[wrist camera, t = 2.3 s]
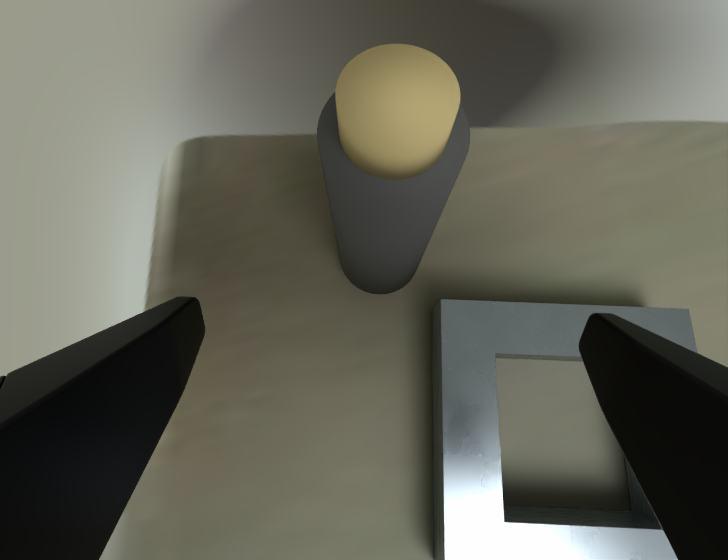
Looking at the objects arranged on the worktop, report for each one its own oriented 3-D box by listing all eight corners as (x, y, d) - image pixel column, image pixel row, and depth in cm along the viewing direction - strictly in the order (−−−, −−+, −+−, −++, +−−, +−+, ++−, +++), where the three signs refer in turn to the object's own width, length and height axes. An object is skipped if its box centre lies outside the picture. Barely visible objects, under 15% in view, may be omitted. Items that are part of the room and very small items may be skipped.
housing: (694, 575, 17) (748, 605, 15) (434, 562, 17) (445, 590, 15) (650, 318, 21) (688, 308, 18) (432, 309, 21) (440, 298, 18)
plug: (418, 295, 21) (490, 173, 9) (338, 292, 21) (302, 166, 9) (418, 221, 22) (482, 27, 10) (342, 219, 22) (316, 22, 10)
